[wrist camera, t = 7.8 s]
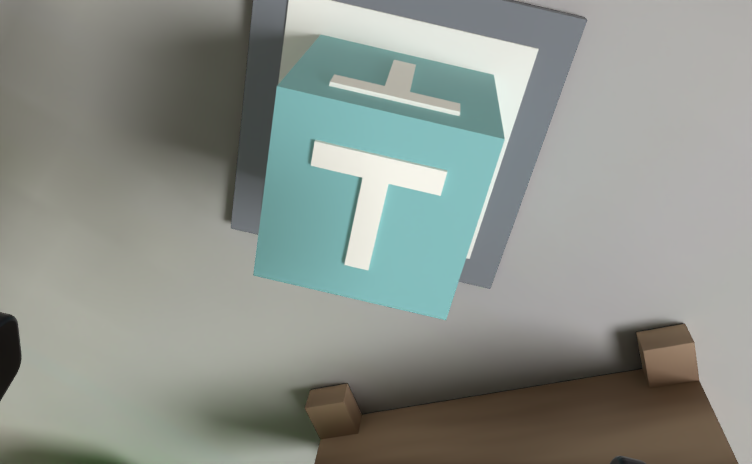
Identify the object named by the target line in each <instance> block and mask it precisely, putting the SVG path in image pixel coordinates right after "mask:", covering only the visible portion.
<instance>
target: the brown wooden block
mask: <svg viewBox="0 0 752 464" xmlns="http://www.w3.org/2000/svg"><path fill="white" fill-rule="evenodd" d="M636 334H637V340H638V345H639V351H640V357H641V362H642V368H643V369H639V370H633V371H627V372H621V373H615V374H609V375H602V376H596V377H590V378H584V379H578V380H572V381H566V382H559V383H553V384H547V385H541V386H535V387H529V388H523V389H517V390H510V391H504V392H498V393H492V394H486V395H480V396H474V397H467V398H461V399H455V400H449V401H443V402H437V403H431V404H425V405H418V406H412V407H406V408H400V409H394V410H388V411H382V412H375V413H369V414H363V415H362V414H361V412H360V410H359V408H358V405H357V403H356V401H355V399H354V397H353V394H352V392H351V390H350V388H349V385H348V383H347V384H342V385H336V386H330V387H325V388H319V389H314V390H310V392H309V396H308V399H307V402H306V406H305V410H306V412H307V414H308V416H309V418H310V420H311V422H312V424H313V426H314V428H315V430H316V432H317V434H318V436H319V438H320V444H319V448H318V452H317V456H316V460H315V464H610V462H611V461H612V459H613V458H614V457H616V456H625V457H629V458H633V459H638V460H641V461H644V462H645V463H646V464H738V462H737V460H736V458H735V455H734V453H733V451H732V449H731V447H730V445H729V443H728V441H727V439H726V436H725V434H724V432H723V430H722V428H721V426H720V424H719V422H718V419H717V417H716V415H715V413H714V411H713V409H712V407H711V405H710V402H709V400H708V398H707V396H706V394H705V392H704V390H703V388H702V386H701V383H700V381H699V375H698V367H697V359H696V352H695V344H694V341H693V339H692V337H691V335H690V333H689V331H688V329H687V327H686V325H685V324H680V325H675V326H669V327H664V328H658V329H652V330H647V331H641V332H636Z"/></svg>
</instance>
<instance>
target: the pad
mask: <svg viewBox="0 0 752 464" xmlns="http://www.w3.org/2000/svg"><path fill="white" fill-rule="evenodd" d="M586 22H587V19H586V18H585V17H582V16H577V15H573V14H569V13H565V12H560V11H556V10H552V9H547V8H543V7H539V6H535V5H530V4H526V3H522V2H518V1H513V0H253V8H252V18H251V28H250V38H249V48H248V58H247V69H246V79H245V89H244V99H243V109H242V119H241V129H240V140H239V150H238V160H237V170H236V180H235V190H234V200H233V211H232V221H231V228H232V229H236V230H240V231H244V232H249V233H253V234H257V235H258V234H259V226H260V218H261V210H262V202H263V194H264V186H265V178H266V170H267V162H268V154H269V145H270V137H271V129H272V121H273V113H274V105H275V97H276V89H277V85H278V84H279V83H280V82H281V81H282V79H283V78H284V77H285V76H286V75H287V74H288V72H289V71H290V70H291V69H292V68H293V67H294V65H295V64H296V63H297V62H298V61H299V59H300V58H301V57H302V56H303V55H304V54H305V52H306V51H307V50H308V49H309V48H310V47H311V45H312V44H313V43H314V42H315V41H316V39H317V38H318V37H319V36H320V35H325V36H330V37H334V38H338V39H343V40H347V41H351V42H355V43H360V44H364V45H368V46H373V47H377V48H381V49H385V50H390V51H394V52H398V53H403V54H407V55H411V56H415V57H420V58H424V59H428V60H433V61H437V62H441V63H445V64H450V65H454V66H458V67H463V68H467V69H471V70H475V71H480V72H484V73H488V74H493V75H494V79H495V85H496V90H497V96H498V102H499V108H500V114H501V120H502V126H503V131H504V137H505V140H504V143H503V146H502V150H501V153H500V156H499V159H498V162H497V165H496V168H495V171H494V174H493V177H492V180H491V183H490V186H489V189H488V193H487V196H486V199H485V202H484V205H483V208H482V211H481V214H480V217H479V220H478V223H477V226H476V229H475V232H474V236H473V239H472V242H471V245H470V248H469V251H468V254H467V257H466V260H465V263H464V266H463V269H462V272H461V275H460V279H459V282H463V283H467V284H471V285H476V286H480V287H484V288H489V289H490V288H491V285H492V283H493V280H494V277H495V274H496V272H497V269H498V266H499V263H500V261H501V258H502V255H503V252H504V249H505V247H506V244H507V241H508V238H509V236H510V233H511V230H512V227H513V224H514V222H515V219H516V216H517V213H518V211H519V208H520V205H521V202H522V199H523V197H524V194H525V191H526V188H527V186H528V183H529V180H530V177H531V174H532V172H533V169H534V166H535V163H536V161H537V158H538V155H539V152H540V150H541V147H542V144H543V141H544V138H545V136H546V133H547V130H548V127H549V125H550V122H551V119H552V116H553V113H554V111H555V108H556V105H557V102H558V100H559V97H560V94H561V91H562V88H563V86H564V83H565V80H566V77H567V75H568V72H569V69H570V66H571V63H572V61H573V58H574V55H575V52H576V50H577V47H578V44H579V41H580V39H581V36H582V33H583V30H584V27H585V25H586Z"/></svg>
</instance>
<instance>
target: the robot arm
mask: <svg viewBox="0 0 752 464" xmlns="http://www.w3.org/2000/svg"><path fill="white" fill-rule="evenodd" d="M20 364H21V346H20V338H19V329H18V322H17V320H16V318H15V317H14V316H12V315H10V314H6V313H2V312H0V401H1V399H2V398H3V396H4V394H5V393H6V391H7V389H8V387H9V386H10V384H11V382H12V381H13V379H14V377H15V376H16V374H17V372H18V370H19V367H20ZM610 464H646V463H645V462H644V461H641V460H638V459H633V458H629V457H625V456H616V457H614V458H613V459H612V461H611V462H610Z"/></svg>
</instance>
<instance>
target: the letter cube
mask: <svg viewBox="0 0 752 464" xmlns="http://www.w3.org/2000/svg"><path fill="white" fill-rule="evenodd" d="M504 140H505V137H504V131H503V126H502V120H501V114H500V108H499V102H498V96H497V90H496V85H495V79H494V75H493V74H488V73H484V72H480V71H475V70H471V69H467V68H463V67H458V66H454V65H450V64H445V63H441V62H437V61H433V60H428V59H424V58H420V57H415V56H411V55H407V54H403V53H398V52H394V51H390V50H385V49H381V48H377V47H373V46H368V45H364V44H360V43H355V42H351V41H347V40H343V39H338V38H334V37H330V36H325V35H320V36H319V37H318V38H317V39H316V41H315V42H314V43H313V44H312V45H311V47H310V48H309V49H308V50H307V51H306V52H305V54H304V55H303V56H302V57H301V58H300V59H299V61H298V62H297V63H296V64H295V65H294V67H293V68H292V69H291V70H290V71H289V72H288V74H287V75H286V76H285V77H284V78H283V79H282V81H281V82H280V83H279V84H278V85H277V89H276V97H275V105H274V113H273V121H272V129H271V137H270V145H269V154H268V162H267V170H266V178H265V186H264V194H263V202H262V210H261V218H260V226H259V234H258V242H257V250H256V258H255V266H254V274H253V275H254V276H258V277H262V278H267V279H271V280H275V281H280V282H284V283H288V284H293V285H297V286H301V287H305V288H310V289H314V290H318V291H323V292H327V293H331V294H336V295H340V296H344V297H348V298H353V299H357V300H361V301H366V302H370V303H374V304H379V305H383V306H387V307H391V308H396V309H400V310H404V311H409V312H413V313H417V314H422V315H426V316H430V317H434V318H439V319H443V320H446V318H447V315H448V312H449V309H450V306H451V303H452V300H453V297H454V294H455V291H456V288H457V285H458V282H459V279H460V275H461V272H462V269H463V266H464V263H465V260H466V257H467V254H468V251H469V248H470V245H471V242H472V239H473V236H474V232H475V229H476V226H477V223H478V220H479V217H480V214H481V211H482V208H483V205H484V202H485V199H486V196H487V193H488V189H489V186H490V183H491V180H492V177H493V174H494V171H495V168H496V165H497V162H498V159H499V156H500V153H501V150H502V146H503V143H504Z"/></svg>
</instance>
